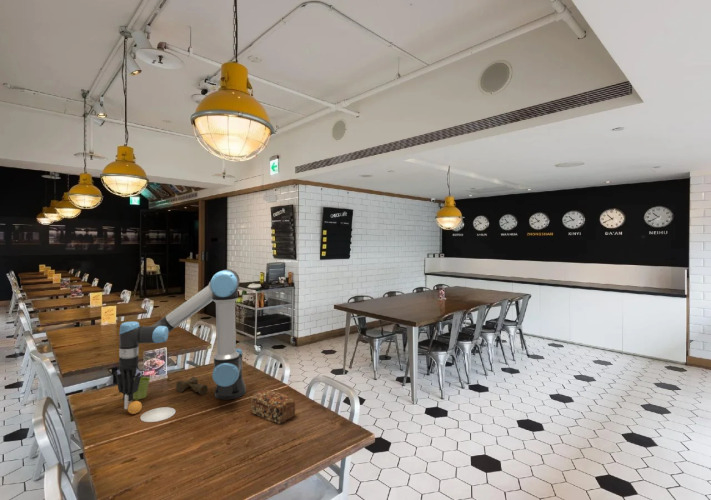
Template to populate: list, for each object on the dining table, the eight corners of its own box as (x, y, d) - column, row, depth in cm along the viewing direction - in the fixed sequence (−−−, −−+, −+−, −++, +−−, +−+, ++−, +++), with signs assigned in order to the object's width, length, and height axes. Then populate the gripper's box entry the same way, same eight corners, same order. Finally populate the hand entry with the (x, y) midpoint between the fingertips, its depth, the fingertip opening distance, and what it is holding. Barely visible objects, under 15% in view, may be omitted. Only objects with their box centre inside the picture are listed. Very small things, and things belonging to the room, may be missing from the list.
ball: (138, 412, 169) (146, 405, 168) (130, 418, 163) (138, 411, 163) (131, 403, 169) (139, 396, 169) (122, 409, 164) (131, 401, 163)
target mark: (181, 408, 171) (181, 408, 171) (163, 423, 157) (163, 422, 157) (153, 406, 173) (153, 406, 173) (132, 421, 159) (132, 420, 159)
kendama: (195, 399, 183) (171, 389, 193) (211, 392, 192) (187, 384, 202) (196, 387, 183) (171, 378, 193) (212, 381, 192) (187, 373, 201)
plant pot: (143, 401, 178) (143, 384, 178) (124, 401, 179) (124, 383, 178) (154, 393, 188) (154, 377, 188) (136, 393, 188) (136, 376, 188)
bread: (250, 414, 167) (250, 392, 166) (267, 405, 175) (267, 385, 175) (279, 426, 156) (279, 402, 156) (296, 416, 165) (296, 394, 165)
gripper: (109, 358, 163) (108, 410, 163) (136, 359, 162) (135, 412, 162) (121, 353, 171) (121, 403, 171) (147, 354, 169) (146, 405, 170)
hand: (128, 407), depth 166 cm, fingers closed
